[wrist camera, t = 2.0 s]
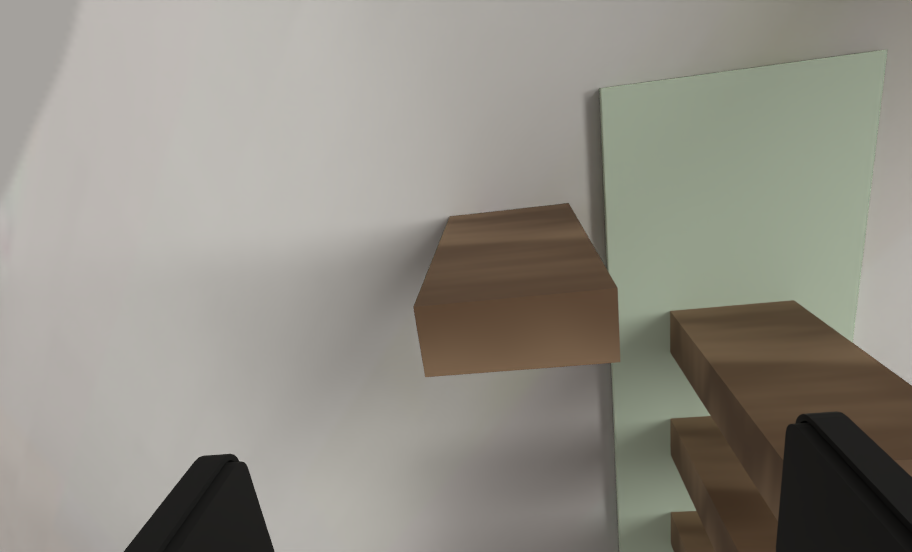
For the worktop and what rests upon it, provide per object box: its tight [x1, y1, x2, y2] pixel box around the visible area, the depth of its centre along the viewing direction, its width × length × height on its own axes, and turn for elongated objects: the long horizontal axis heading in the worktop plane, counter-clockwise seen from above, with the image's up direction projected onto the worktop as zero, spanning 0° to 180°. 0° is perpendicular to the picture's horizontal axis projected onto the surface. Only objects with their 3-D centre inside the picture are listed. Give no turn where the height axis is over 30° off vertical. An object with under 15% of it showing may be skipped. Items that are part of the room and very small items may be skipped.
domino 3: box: [670, 300, 912, 521], centre depth 22 cm, size 2×6×12 cm, turn 98°
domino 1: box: [414, 203, 620, 377], centre depth 22 cm, size 2×6×12 cm, turn 98°
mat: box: [599, 50, 887, 552], centre depth 30 cm, size 38×12×1 cm, turn 8°
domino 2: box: [670, 416, 778, 552], centre depth 24 cm, size 2×6×12 cm, turn 98°
